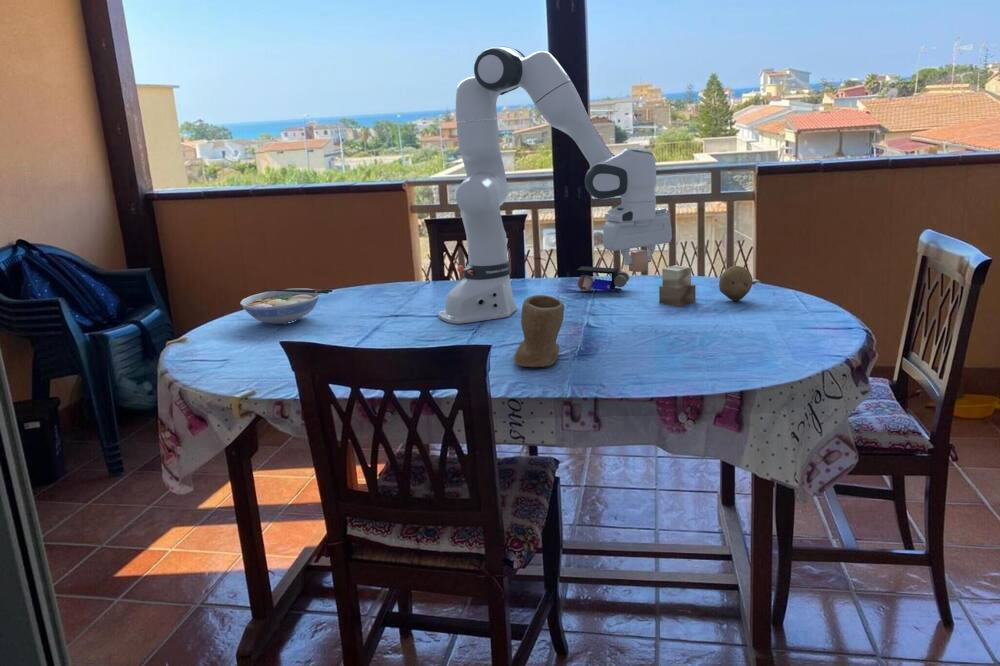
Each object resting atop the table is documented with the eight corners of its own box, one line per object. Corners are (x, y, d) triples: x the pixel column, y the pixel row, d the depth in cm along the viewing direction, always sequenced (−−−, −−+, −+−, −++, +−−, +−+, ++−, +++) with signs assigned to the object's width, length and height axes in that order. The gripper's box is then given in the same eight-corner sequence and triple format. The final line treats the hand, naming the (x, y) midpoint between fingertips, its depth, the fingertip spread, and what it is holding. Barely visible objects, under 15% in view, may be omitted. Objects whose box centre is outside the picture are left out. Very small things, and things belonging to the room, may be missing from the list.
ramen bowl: (223, 330, 231) (219, 302, 228) (276, 309, 250) (273, 284, 248) (292, 335, 220) (288, 306, 218) (342, 313, 240) (339, 286, 237)
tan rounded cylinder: (636, 272, 211) (636, 253, 210) (625, 269, 215) (625, 251, 214) (650, 270, 213) (651, 251, 212) (639, 267, 217) (639, 249, 216)
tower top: (677, 288, 220) (677, 270, 219) (662, 286, 224) (662, 268, 223) (691, 285, 223) (691, 267, 222) (675, 282, 227) (675, 265, 226)
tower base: (679, 307, 220) (678, 289, 219) (659, 303, 226) (659, 286, 224) (695, 302, 224) (695, 284, 223) (675, 298, 230) (675, 281, 228)
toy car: (628, 293, 246) (579, 287, 250) (630, 268, 243) (581, 263, 248) (624, 298, 240) (574, 292, 244) (626, 273, 237) (576, 267, 242)
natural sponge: (751, 305, 216) (752, 269, 213) (717, 305, 219) (717, 269, 216) (752, 297, 224) (753, 262, 222) (719, 297, 227) (719, 262, 224)
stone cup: (562, 371, 175) (559, 304, 171) (509, 371, 178) (504, 305, 174) (571, 350, 190) (568, 288, 185) (521, 350, 192) (517, 289, 188)
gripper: (662, 206, 217) (661, 256, 221) (599, 213, 208) (599, 266, 212) (677, 208, 212) (676, 260, 216) (613, 216, 203) (613, 270, 207)
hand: (637, 263), depth 214 cm, fingers closed on tan rounded cylinder, 5 cm apart
